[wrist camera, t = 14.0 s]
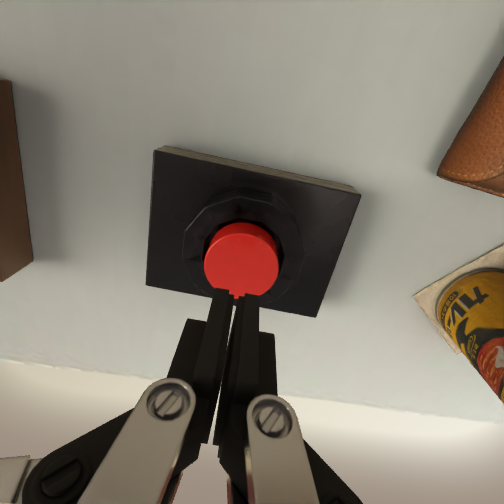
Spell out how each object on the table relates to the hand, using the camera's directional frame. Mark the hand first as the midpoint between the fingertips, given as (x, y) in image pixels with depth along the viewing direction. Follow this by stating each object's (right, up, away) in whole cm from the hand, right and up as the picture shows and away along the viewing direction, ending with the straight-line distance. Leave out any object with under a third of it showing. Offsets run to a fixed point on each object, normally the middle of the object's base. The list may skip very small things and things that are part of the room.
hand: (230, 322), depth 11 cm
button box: (0, +4, +9) cm, 10 cm away
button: (0, +3, +6) cm, 7 cm away
